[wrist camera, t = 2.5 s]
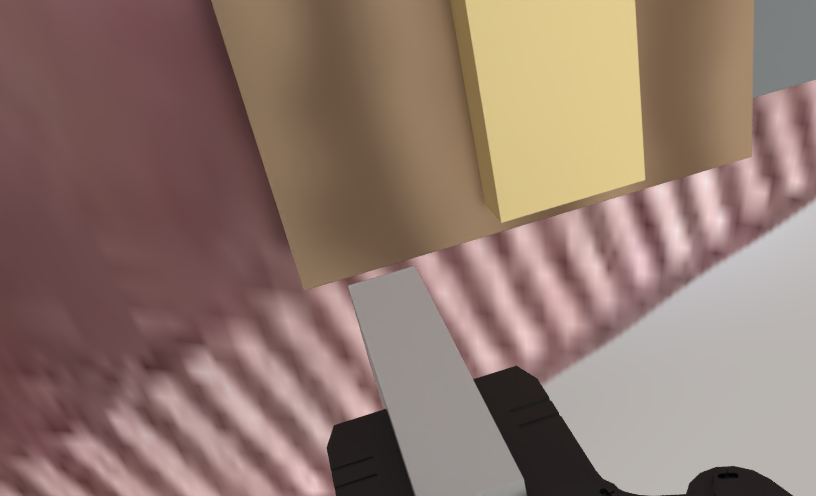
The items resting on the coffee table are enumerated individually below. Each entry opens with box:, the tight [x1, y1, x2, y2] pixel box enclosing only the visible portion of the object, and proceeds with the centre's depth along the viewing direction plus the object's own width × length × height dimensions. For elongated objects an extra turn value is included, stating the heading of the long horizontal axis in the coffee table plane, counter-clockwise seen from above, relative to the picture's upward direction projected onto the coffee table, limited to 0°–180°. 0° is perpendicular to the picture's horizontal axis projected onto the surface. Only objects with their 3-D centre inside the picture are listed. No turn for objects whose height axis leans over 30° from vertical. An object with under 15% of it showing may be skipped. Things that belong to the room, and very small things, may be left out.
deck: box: [211, 0, 754, 290], centre depth 31 cm, size 20×12×4 cm, turn 102°
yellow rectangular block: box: [450, 0, 645, 223], centre depth 28 cm, size 9×6×2 cm, turn 12°
